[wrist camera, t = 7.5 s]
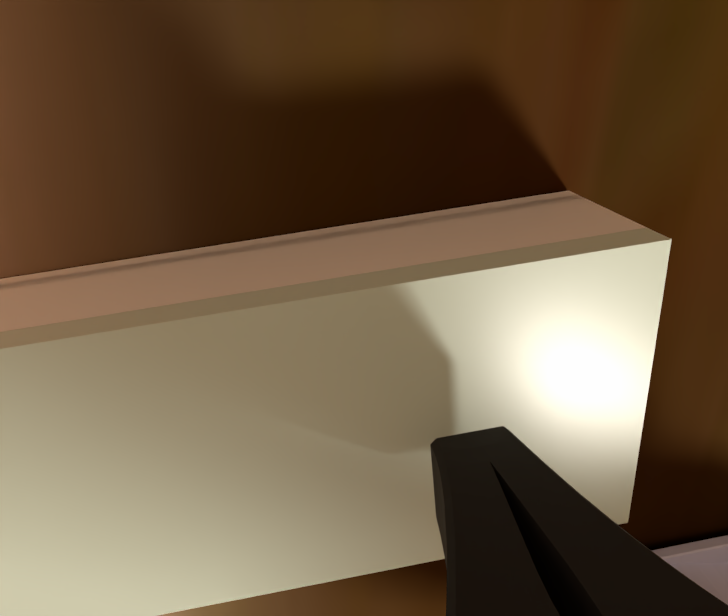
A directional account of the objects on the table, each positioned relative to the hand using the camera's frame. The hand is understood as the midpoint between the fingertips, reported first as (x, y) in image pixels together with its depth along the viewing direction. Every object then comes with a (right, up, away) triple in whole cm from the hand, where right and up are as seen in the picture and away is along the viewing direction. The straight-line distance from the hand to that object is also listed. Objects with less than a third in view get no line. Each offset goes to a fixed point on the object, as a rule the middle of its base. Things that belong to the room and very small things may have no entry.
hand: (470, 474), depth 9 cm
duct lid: (-6, 0, +1) cm, 6 cm away
